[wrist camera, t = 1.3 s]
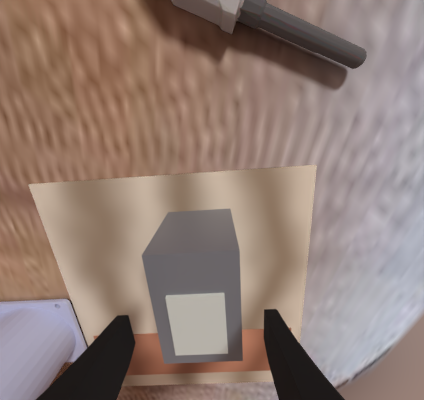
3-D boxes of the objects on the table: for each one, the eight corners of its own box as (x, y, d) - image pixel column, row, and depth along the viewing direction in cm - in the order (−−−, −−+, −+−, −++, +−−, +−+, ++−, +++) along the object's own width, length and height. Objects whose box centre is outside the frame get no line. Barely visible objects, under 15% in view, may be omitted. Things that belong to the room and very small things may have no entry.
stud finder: (179, 292, 18) (163, 367, 12) (168, 212, 16) (140, 257, 10) (233, 289, 18) (243, 364, 12) (230, 208, 15) (240, 252, 10)
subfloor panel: (103, 386, 23) (102, 388, 22) (29, 184, 15) (27, 184, 15) (295, 379, 22) (296, 381, 22) (316, 164, 14) (317, 165, 14)
